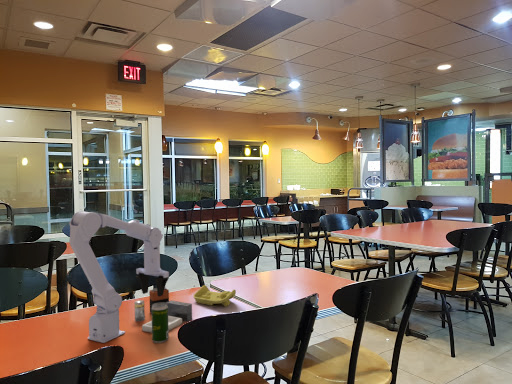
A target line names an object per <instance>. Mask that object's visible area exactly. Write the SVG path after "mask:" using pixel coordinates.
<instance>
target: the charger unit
mask: <svg viewBox="0 0 512 384" xmlns="http://www.w3.org/2000/svg"><path fill="white" fill-rule="evenodd" d="M166 303H167V306H168V316H173V317H178V318H182V322H186V323H187V322H189V321H192V320H193V304H192V303H190V302H189V303H188V302H185V301H184V302H183V301H176V300H169V302H166Z"/></svg>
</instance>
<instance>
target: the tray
mask: <svg viewBox="0 0 512 384" xmlns="http://www.w3.org/2000/svg"><path fill="white" fill-rule="evenodd" d="M182 324H183V321H182V318H178V317H173V316H168V332H169V331H171V330H173V329H175V328H177V327H179V326H180V325H182ZM141 325H142V326H141V331H142V332H145V333H151V334H152V320H150V321H148V322H146V323H143V324H141Z"/></svg>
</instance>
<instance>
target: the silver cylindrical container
mask: <svg viewBox="0 0 512 384" xmlns="http://www.w3.org/2000/svg"><path fill="white" fill-rule="evenodd" d="M133 303H134V321H135V322H136V323H137V322H142V321H143V322H144V321H145V320H146V319H145V318H146V317H145V300H142V299H139V300H135V301H134V302H133Z"/></svg>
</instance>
